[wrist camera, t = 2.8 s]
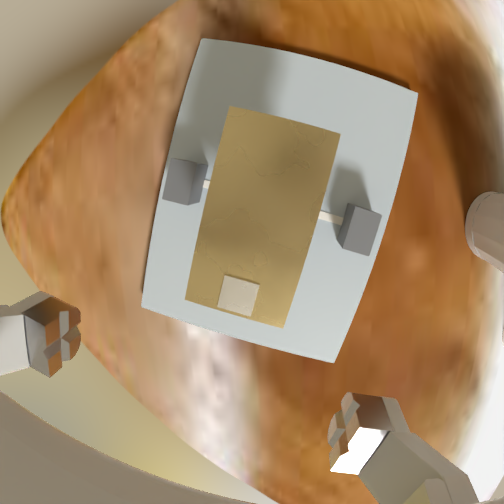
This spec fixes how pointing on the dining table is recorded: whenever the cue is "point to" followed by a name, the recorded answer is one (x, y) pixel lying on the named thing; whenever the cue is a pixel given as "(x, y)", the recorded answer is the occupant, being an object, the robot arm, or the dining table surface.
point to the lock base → (334, 203)
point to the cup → (487, 228)
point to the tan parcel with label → (260, 215)
